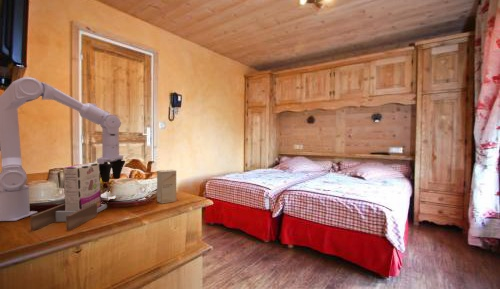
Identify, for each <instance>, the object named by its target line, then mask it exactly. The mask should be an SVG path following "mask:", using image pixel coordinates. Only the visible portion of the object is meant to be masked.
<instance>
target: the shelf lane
mask: <svg viewBox="0 0 500 289" xmlns="http://www.w3.org/2000/svg"><path fill="white" fill-rule="evenodd" d="M56 211H65V203H62V204H58V205H57V206H54V207H51V208H48V209H46V210H42V211H40V212H37V213H35V214H33V215H30V231H31V232H33V231H37V230H40V229H41V228H43V227H46V226H47V225H50V224H52V223H55V222H56ZM96 217H98V213H97V204H92V205H90V206H87V207H85V208H83V209H81V210H79V211H76V212H74V213H72V214H70V215H67V216H66V222H65V224H66V231H67V232H68V231H72V230H74V229H76V228H78V227H79V226H81V225H83V224H86V223H87V222H88V221H91V220H92V219H94V218H96Z"/></svg>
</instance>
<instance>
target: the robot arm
mask: <svg viewBox="0 0 500 289" xmlns="http://www.w3.org/2000/svg"><path fill="white" fill-rule="evenodd" d="M40 97H41V100H44V101H45V100H48V101H50V100H51V101H55V102H57V103H60V104H62V105H64V106H66V107H69V108H71V109H73V110H75V111H76V112H78V113H79V116H80V117H81V118H84V119H86V120H87V121H89V122H92V123H94V124H96V125H97V126H98V125H100V127H101V130H102V132H101V138H102V139H101V141H102V143H101V147H102V149H101V151H102V154H101V157H99V158H96V159H97V160H96V163H100V164H99V166H100V180H101V181H102V183H110V177H111V171H112V178H113V179H114V180H116V179H119V180H120V178H121V173H122V170H123V168H124V166H125V164H126V160H124V155H120V133H119V131H120V128H121V126H122V122H121V119H120V118H119V116H117V115H115V114H110V111H109V110H104V109H102V108H99V107H98V105H97V104H96V103H91V102H87V103H83V102H81V101H79V100H77V99H76V98H74V97H72V96H70V95H68V94H67V93H64V92H63V91H62V90H60V89H57V88H56V87H54V86H52V85H50V84H48V83H46V82H43V81H40V80H38V79H37V78H34V77H30V76H23V77H21V78H18V79H16V80H14V81H12V82H11V83H10V84H9V85H8V87H7V88H6V89H5V91H4V92H2V94H1V95H0V159H1V172H0V222H16V221H18V220H22V219H23V218H24V219H25V218H27V217H29V216H32V215H35V214H37V213H38V211H37V210H36V211H35V210H31V208H30V204H31V203H30V185H27V184H26V183H27V182H28V176H27V172H26V171H25V169H24V168H23V162H22V151H21V150H22V149H21V139H20V138H21V137H20V127H19V125H20V124H19V113H18V111H19V110H18V109H19V108H21V107H22V106H23V105H25V104H26V103H28V102H32V101H35V100H37V99H39V98H40Z"/></svg>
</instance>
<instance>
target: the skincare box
mask: <svg viewBox="0 0 500 289" xmlns="http://www.w3.org/2000/svg"><path fill="white" fill-rule="evenodd" d="M156 173H157V174H156V176H157V177H156V182H157V184H156V185H157V186H156V191H157V192H156V200H157V202H158V203H160V204H168V203H174V202H177V170H175V169H165V170H157V171H156Z"/></svg>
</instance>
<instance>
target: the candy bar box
mask: <svg viewBox="0 0 500 289" xmlns="http://www.w3.org/2000/svg"><path fill="white" fill-rule="evenodd" d="M99 164H100V163H97V162H86V163H81V164H76V165H70V166H65V167H63V168H62V174H63V189H64V204H65V211H79V210H81V209H83V208H85V207H87V206H90V205H92V204H97V208H99V207H101V203H102V194H101V176H100V166H99Z"/></svg>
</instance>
